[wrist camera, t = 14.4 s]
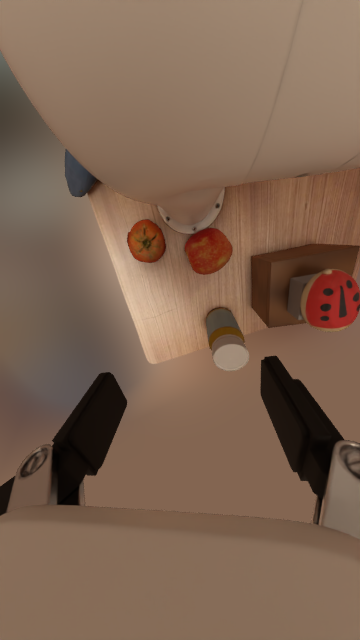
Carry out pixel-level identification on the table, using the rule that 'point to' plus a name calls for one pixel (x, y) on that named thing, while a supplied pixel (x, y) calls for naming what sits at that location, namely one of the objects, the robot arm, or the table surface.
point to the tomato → (146, 241)
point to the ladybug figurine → (330, 301)
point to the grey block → (297, 295)
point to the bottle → (226, 340)
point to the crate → (292, 276)
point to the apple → (208, 251)
